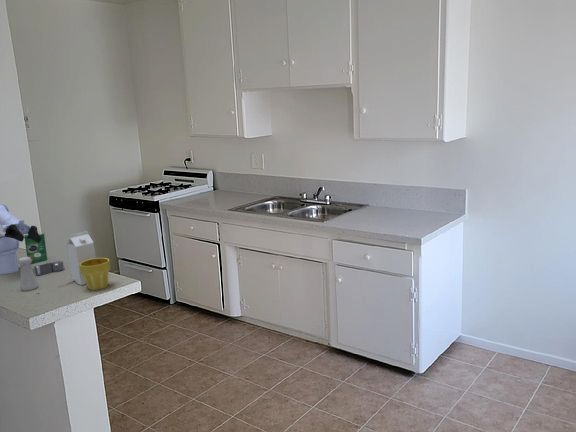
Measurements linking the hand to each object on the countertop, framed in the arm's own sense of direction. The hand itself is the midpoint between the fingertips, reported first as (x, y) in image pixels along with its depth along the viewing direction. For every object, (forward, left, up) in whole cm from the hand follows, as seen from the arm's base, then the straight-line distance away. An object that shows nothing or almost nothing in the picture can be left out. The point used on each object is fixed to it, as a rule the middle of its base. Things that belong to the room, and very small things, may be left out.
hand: (31, 239), depth 207 cm
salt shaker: (+12, -8, -17) cm, 22 cm away
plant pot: (+30, +9, -17) cm, 36 cm away
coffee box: (-26, +11, -17) cm, 33 cm away
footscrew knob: (-2, +6, -15) cm, 16 cm away
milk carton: (+19, +10, -17) cm, 27 cm away
